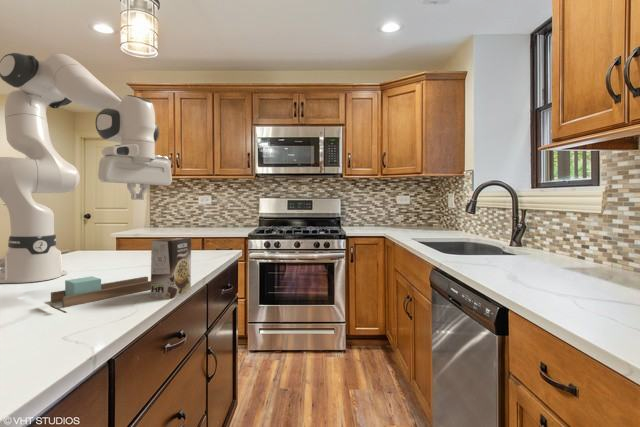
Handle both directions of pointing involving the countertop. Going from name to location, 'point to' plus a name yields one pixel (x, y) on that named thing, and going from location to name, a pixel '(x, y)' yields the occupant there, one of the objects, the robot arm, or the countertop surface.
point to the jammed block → (82, 285)
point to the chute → (103, 292)
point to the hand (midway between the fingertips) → (137, 199)
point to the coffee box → (170, 267)
